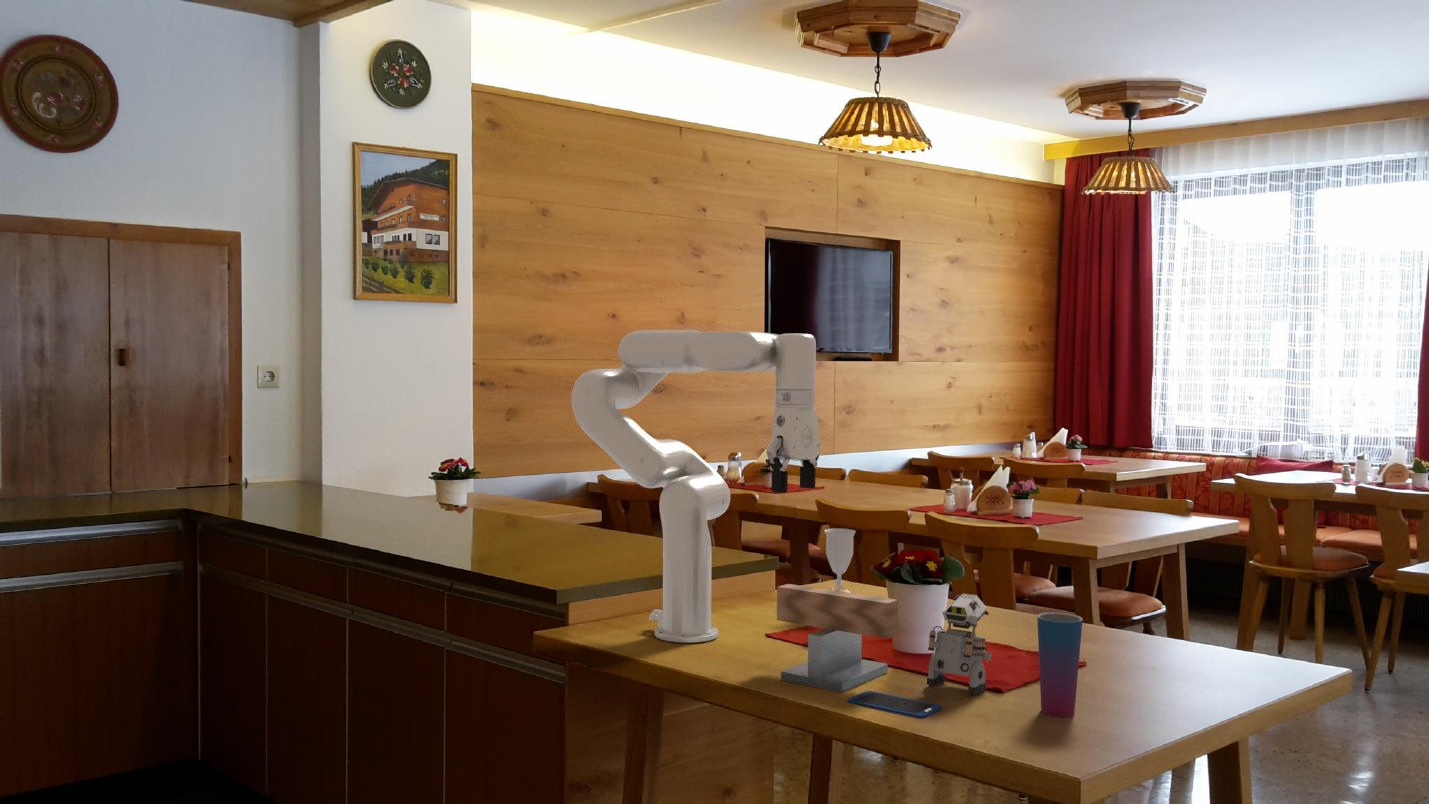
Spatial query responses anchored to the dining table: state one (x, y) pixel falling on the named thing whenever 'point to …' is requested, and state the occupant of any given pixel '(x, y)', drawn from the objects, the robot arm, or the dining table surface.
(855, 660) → the ridge stand
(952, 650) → the figurine
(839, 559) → the chalice
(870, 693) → the cell phone
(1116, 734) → the dining table surface
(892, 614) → the wooden block
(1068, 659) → the cup
